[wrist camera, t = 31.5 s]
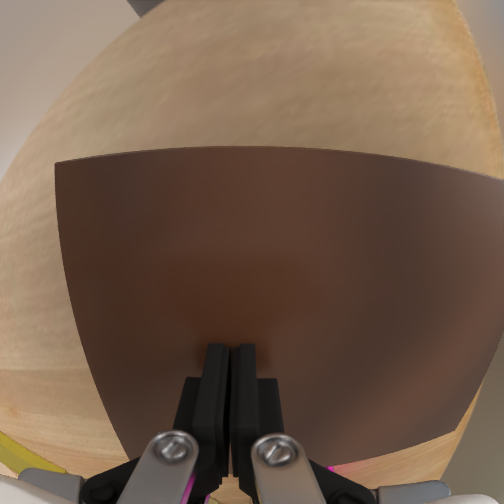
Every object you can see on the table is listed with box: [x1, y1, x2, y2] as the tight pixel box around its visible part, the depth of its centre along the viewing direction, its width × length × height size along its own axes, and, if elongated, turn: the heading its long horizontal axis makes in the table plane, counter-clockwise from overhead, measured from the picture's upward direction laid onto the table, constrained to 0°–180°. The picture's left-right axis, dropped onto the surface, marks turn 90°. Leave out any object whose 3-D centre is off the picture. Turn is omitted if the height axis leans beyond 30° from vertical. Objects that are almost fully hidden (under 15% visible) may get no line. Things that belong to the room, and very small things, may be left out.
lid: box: [55, 146, 504, 474], centre depth 11 cm, size 20×16×1 cm
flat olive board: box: [0, 432, 67, 474], centre depth 25 cm, size 12×2×24 cm
